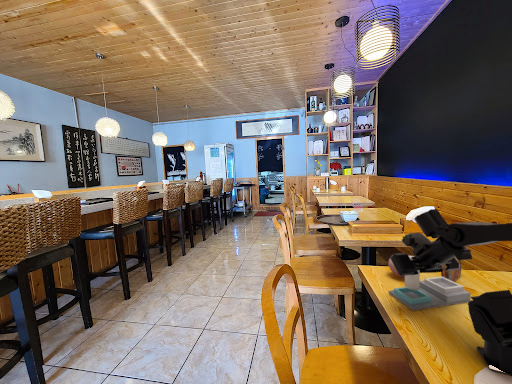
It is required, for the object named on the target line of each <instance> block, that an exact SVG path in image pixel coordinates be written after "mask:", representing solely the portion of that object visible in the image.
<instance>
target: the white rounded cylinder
mask: <svg viewBox="0 0 512 384" xmlns="http://www.w3.org/2000/svg"><path fill="white" fill-rule="evenodd" d="M408 256H409V258H410V259H411V260H412V258H411V257H415V256H416V255H408ZM419 265H420V264H419ZM418 273H419V274H417V275H405V277H404V287H406V288H408V289H411V290H419V289H420V281H421V279H420V277H421V276H420V275H421V273H420V270H419V271H418Z"/></svg>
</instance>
